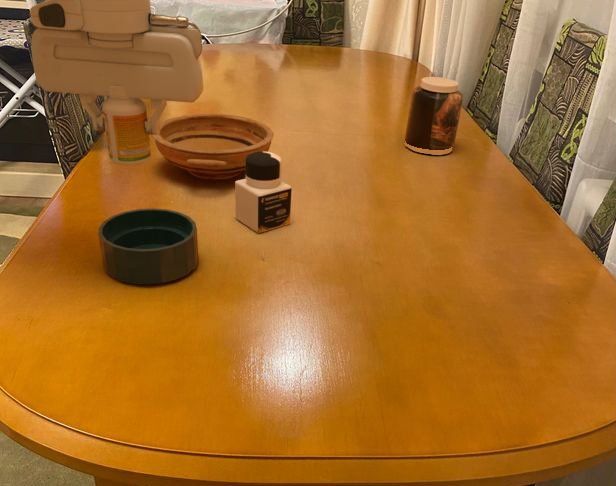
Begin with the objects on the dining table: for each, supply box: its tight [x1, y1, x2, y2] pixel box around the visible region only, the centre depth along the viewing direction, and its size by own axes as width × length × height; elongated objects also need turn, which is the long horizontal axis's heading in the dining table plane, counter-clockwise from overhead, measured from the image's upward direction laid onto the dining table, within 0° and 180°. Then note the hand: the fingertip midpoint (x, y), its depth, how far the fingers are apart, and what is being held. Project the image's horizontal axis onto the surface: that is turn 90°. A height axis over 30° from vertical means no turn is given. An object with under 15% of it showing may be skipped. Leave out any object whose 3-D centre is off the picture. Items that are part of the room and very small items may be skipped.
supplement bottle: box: [101, 85, 152, 166], centre depth 78 cm, size 5×5×10 cm
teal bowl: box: [97, 207, 200, 285], centre depth 92 cm, size 14×14×6 cm
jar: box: [404, 76, 464, 150], centre depth 141 cm, size 12×12×15 cm
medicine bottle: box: [234, 151, 293, 234], centre depth 104 cm, size 7×7×12 cm
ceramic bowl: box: [151, 113, 274, 180], centre depth 124 cm, size 30×24×8 cm
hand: (127, 131), depth 79 cm, fingers closed on supplement bottle, 5 cm apart
